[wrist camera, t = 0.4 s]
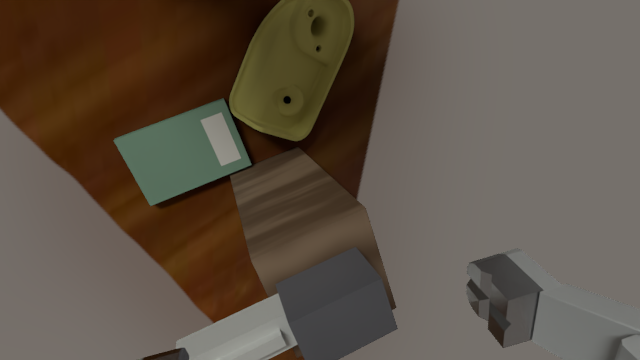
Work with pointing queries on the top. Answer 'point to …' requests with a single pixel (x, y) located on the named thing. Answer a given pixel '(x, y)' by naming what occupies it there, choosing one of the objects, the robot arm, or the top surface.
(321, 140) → the top surface
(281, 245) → the block
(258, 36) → the plastic component
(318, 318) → the plug
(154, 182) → the board
